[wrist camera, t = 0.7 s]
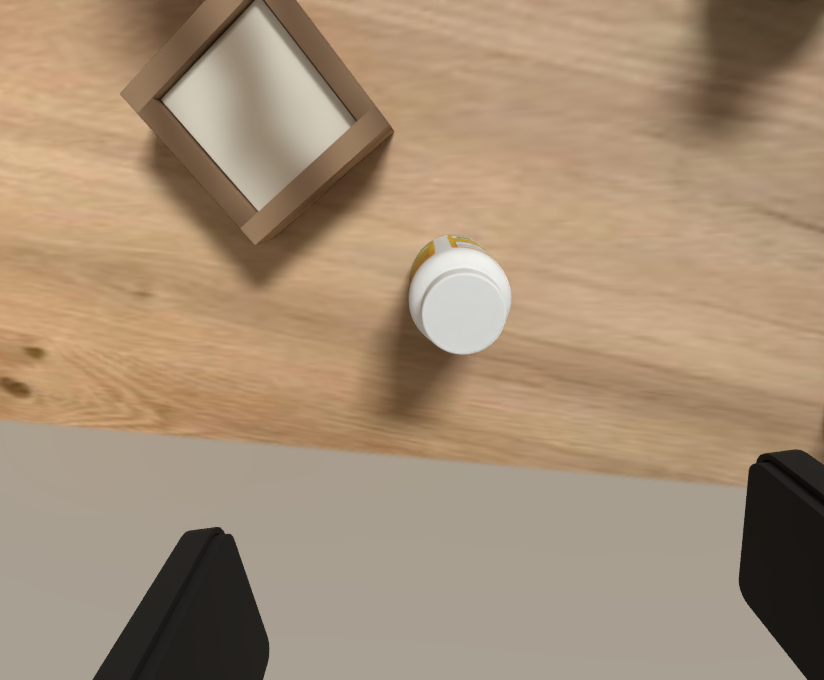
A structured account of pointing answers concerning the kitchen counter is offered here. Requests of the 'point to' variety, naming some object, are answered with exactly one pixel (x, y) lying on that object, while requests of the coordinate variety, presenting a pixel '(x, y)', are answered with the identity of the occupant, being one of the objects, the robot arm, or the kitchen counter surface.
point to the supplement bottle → (458, 295)
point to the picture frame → (257, 110)
